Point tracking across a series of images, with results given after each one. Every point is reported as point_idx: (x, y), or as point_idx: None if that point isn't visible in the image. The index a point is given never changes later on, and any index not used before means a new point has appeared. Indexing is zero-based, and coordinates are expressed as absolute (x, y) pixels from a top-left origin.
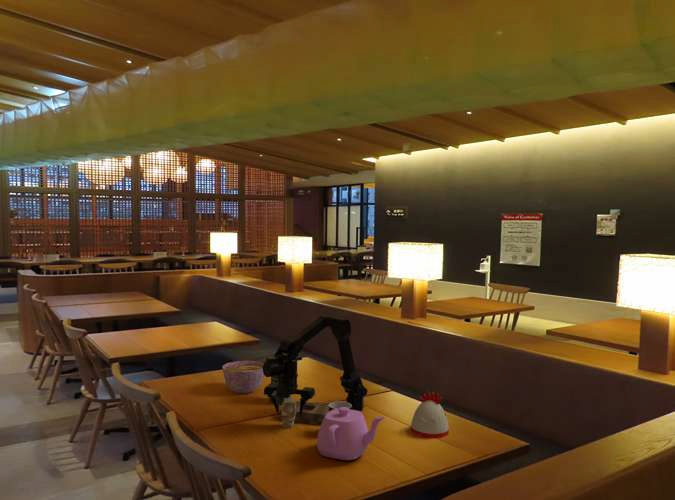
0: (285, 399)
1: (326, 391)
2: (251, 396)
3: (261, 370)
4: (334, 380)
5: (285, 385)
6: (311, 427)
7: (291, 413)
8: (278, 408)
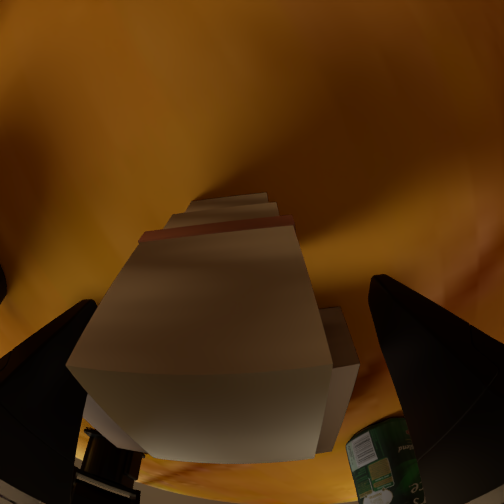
0: (366, 444)
1: (265, 484)
2: None
3: None
4: (276, 498)
5: None
6: (84, 271)
7: (138, 263)
8: (383, 326)
